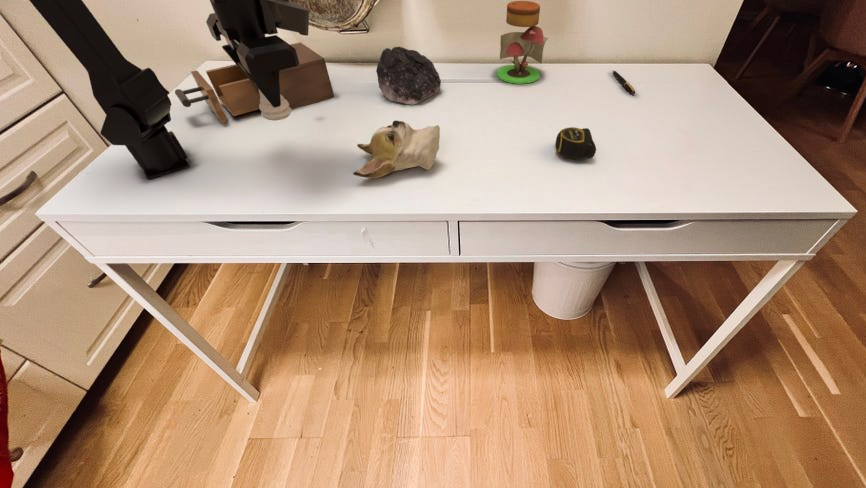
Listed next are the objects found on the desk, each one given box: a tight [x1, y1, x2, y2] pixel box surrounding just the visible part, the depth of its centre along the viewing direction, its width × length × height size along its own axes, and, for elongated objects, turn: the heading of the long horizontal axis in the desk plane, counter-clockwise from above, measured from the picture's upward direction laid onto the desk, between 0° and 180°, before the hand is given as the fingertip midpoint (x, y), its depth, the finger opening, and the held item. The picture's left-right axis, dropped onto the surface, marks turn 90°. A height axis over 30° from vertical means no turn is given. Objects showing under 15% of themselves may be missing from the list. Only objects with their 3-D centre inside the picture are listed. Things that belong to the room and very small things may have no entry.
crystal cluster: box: [375, 46, 442, 106], centre depth 87 cm, size 13×14×10 cm
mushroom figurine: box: [496, 0, 550, 85], centre depth 92 cm, size 12×13×15 cm
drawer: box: [174, 63, 260, 123], centre depth 80 cm, size 18×11×6 cm, turn 130°
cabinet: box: [279, 41, 335, 110], centre depth 85 cm, size 15×13×8 cm
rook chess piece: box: [258, 90, 293, 121], centre depth 58 cm, size 4×4×8 cm
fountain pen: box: [611, 69, 636, 95], centre depth 94 cm, size 14×1×2 cm, turn 8°
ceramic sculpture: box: [352, 120, 441, 179], centre depth 66 cm, size 11×9×15 cm
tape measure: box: [554, 126, 597, 160], centre depth 71 cm, size 7×7×4 cm
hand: (272, 101), depth 60 cm, fingers closed on rook chess piece, 3 cm apart
